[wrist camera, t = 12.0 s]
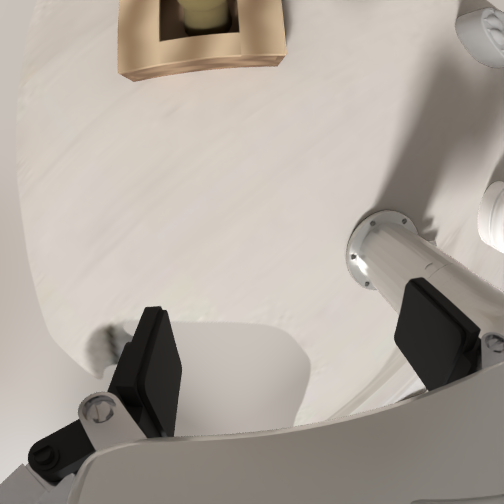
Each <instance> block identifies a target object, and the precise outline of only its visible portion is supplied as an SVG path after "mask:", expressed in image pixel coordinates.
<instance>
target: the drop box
mask: <svg viewBox="0 0 504 504" xmlns="http://www.w3.org/2000/svg"><path fill="white" fill-rule="evenodd" d="M226 1H227V4H228V7H229V10H230V13H231V16H232V26H231V28H230V30H229V31H228V32H227V33H223V34H211V35H202V36H193V37H189V36H188V34H187V33H186V32H185V29H184V20H183V13H184V7H183V6H182V5H181V4H180V3H179V2H178V0H120V1H119V17H118V73H119V74H121V75H122V76H124V77H126V78H128V79H130V80H132V81H133V82H135V81H140V80H145V79H150V78H155V77H161V76H167V75H173V74H179V73H186V72H194V71H202V70H212V69H223V68H237V67H261V66H278V65H279V64H280V62H281V61H282V60H283V58H284V57H285V56H286V54H287V50H286V39H285V29H284V20H283V11H282V2H281V0H226Z"/></svg>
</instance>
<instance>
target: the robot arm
mask: <svg viewBox="0 0 504 504" xmlns="http://www.w3.org/2000/svg"><path fill="white" fill-rule="evenodd" d="M370 222H371V223H370ZM351 255H352V256H351ZM346 262H347V267H348V271H349V273H350V274H351V276H352V278H353V279H354V280H355V281H356V282H357V283H358V284H359V285H360V286H362V287H363V288H366V289H369V290H378V292H379V293H380V294H381V295H382V296H383V297H384V298H385V300H386V301H387V302H388V303H389V304H390V305H391V306H392V308H393V309H394V310H395V311H396V312H397V313H398V315H399V318H398V323H397V327H396V331H395V335H394V340H395V343H396V345H397V346H398V347H399V349H400V350H401V352H402V353H403V355H404V356H405V357H406V359H407V360H408V362H409V363H410V365H411V366H412V367H413V369H414V370H415V372H416V373H417V375H418V376H419V378H420V379H421V381H422V382H423V384H424V385H425V387H426V388H427V391H426V392H425V393H423V394H421V395H418V396H415V397H412V398H409V399H406V400H403V401H400V402H397V403H394V404H390V405H387V406H384V407H380V408H377V409H373V410H370V411H366V412H362V413H358V414H354V415H350V416H346V417H342V418H337V419H332V420H328V421H323V422H318V423H312V424H307V425H301V426H295V427H290V428H282V429H276V430H267V431H258V432H249V433H237V434H224V435H208V436H181V437H174V430H175V421H176V413H177V404H178V396H179V390H180V382H181V375H182V365H181V361H180V358H179V354H178V351H177V347H176V343H175V340H174V336H173V332H172V328H171V324H170V320H169V316H168V312H167V310H162V308H161V307H160V306H156V307H145V309H144V312H143V314H142V316H141V319H140V321H139V324H138V327H137V329H136V331H135V334H134V336H133V339H132V341H131V342H128V343H126V345H125V347H124V349H123V352H122V354H121V357H120V359H119V362H118V365H117V367H116V370H115V372H114V375H113V378H112V381H111V383H110V386H109V389H108V392H96V393H94V394H91V395H89V396H88V397H86V398H85V399H84V400H83V401H82V402H81V404H80V406H79V408H78V416H79V419H78V420H76V421H75V422H73V423H71V424H69V425H67V426H66V427H64V428H62V429H60V430H58V431H56V432H55V433H53V434H51V435H49V436H47V437H45V438H43V439H41V440H39V441H38V442H36V443H35V444H34V445H33V446H32V447H31V449H30V451H29V454H28V462H29V463H28V464H27V465H26V466H25V465H24V464H22V465H20V466H19V467H18V468H17V469H16V470H15V471H14V472H13V473H12V474H11V475H10V476H9V477H8V478H7V479H6V480H5V481H3V482H2V483H1V484H0V504H504V291H502V290H501V289H499V288H497V287H495V286H494V285H492V284H491V283H489V282H488V281H486V280H485V279H483V278H482V277H480V276H479V275H477V274H476V273H474V272H473V271H471V270H470V269H468V268H467V267H465V266H464V265H463V264H461V263H460V262H458V261H457V260H455V259H454V258H452V257H451V256H449V255H448V254H446V253H445V252H443V251H442V250H440V249H439V248H437V247H436V242H435V241H426V240H425V239H423V238H421V237H420V236H418V233H417V230H416V227H415V226H414V224H413V222H412V221H411V220H410V219H409V218H408V217H406V216H405V215H403V214H401V213H399V212H397V211H391V210H386V211H380V212H376V213H374V214H372V215H370V216H369V217H367V218H366V219H365V220H363V221H362V222H361V223H360V225H359V226H358V227H357V228H356V230H355V231H354V232H353V234H352V236H351V238H350V240H349V243H348V247H347V253H346Z"/></svg>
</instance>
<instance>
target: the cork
mask: <svg viewBox="0 0 504 504" xmlns="http://www.w3.org/2000/svg"><path fill="white" fill-rule="evenodd" d="M178 2H179V3H180V4H181V5H182V6H183V7H184V13H183V20H184V29H185V32H186V33H187V34H188V36H189V37H193V36H202V35H211V34H223V33H227V32H228V31H229V30H230V28H231V26H232V16H231V13H230V10H229V7H228V4H227V1H226V0H178Z"/></svg>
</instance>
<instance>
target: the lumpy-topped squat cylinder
mask: <svg viewBox="0 0 504 504" xmlns="http://www.w3.org/2000/svg"><path fill="white" fill-rule="evenodd" d="M455 29H456V33H457V35H458V37H459V39H460V41H461V42H462V44H463V45H464V47H465V48H466V50H467V51H468V52H469V53H470V54H471V55H472V56H473V57H474V58H475V59H476V60H477V61H478V62H480V63H482V64H484V65H486V66H489V67H492V68H504V12H502V11H500V10H496V9H494V8H491V7H488V8H484V9H480V10H477V11H474V12H470V13H467V14H464V15H461V16H459V17H458V18H457V20H456V23H455Z"/></svg>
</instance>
